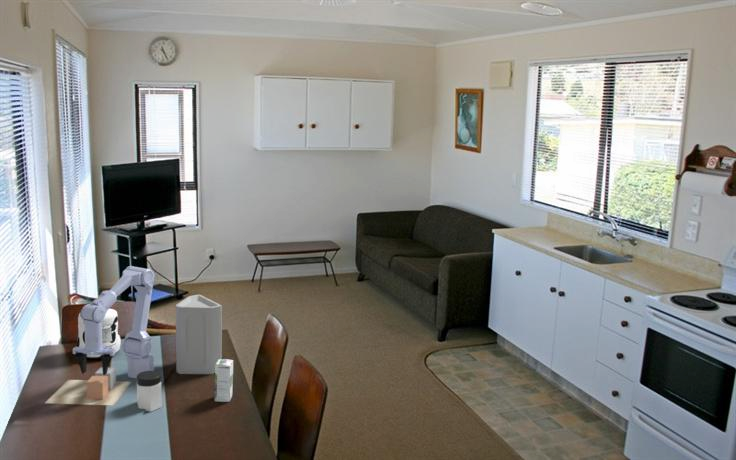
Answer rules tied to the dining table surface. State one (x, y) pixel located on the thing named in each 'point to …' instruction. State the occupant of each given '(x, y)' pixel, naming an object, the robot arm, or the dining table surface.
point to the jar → (149, 390)
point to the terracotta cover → (97, 387)
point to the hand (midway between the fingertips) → (94, 373)
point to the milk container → (103, 333)
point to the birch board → (85, 394)
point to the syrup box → (223, 380)
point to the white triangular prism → (198, 335)
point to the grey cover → (111, 376)
